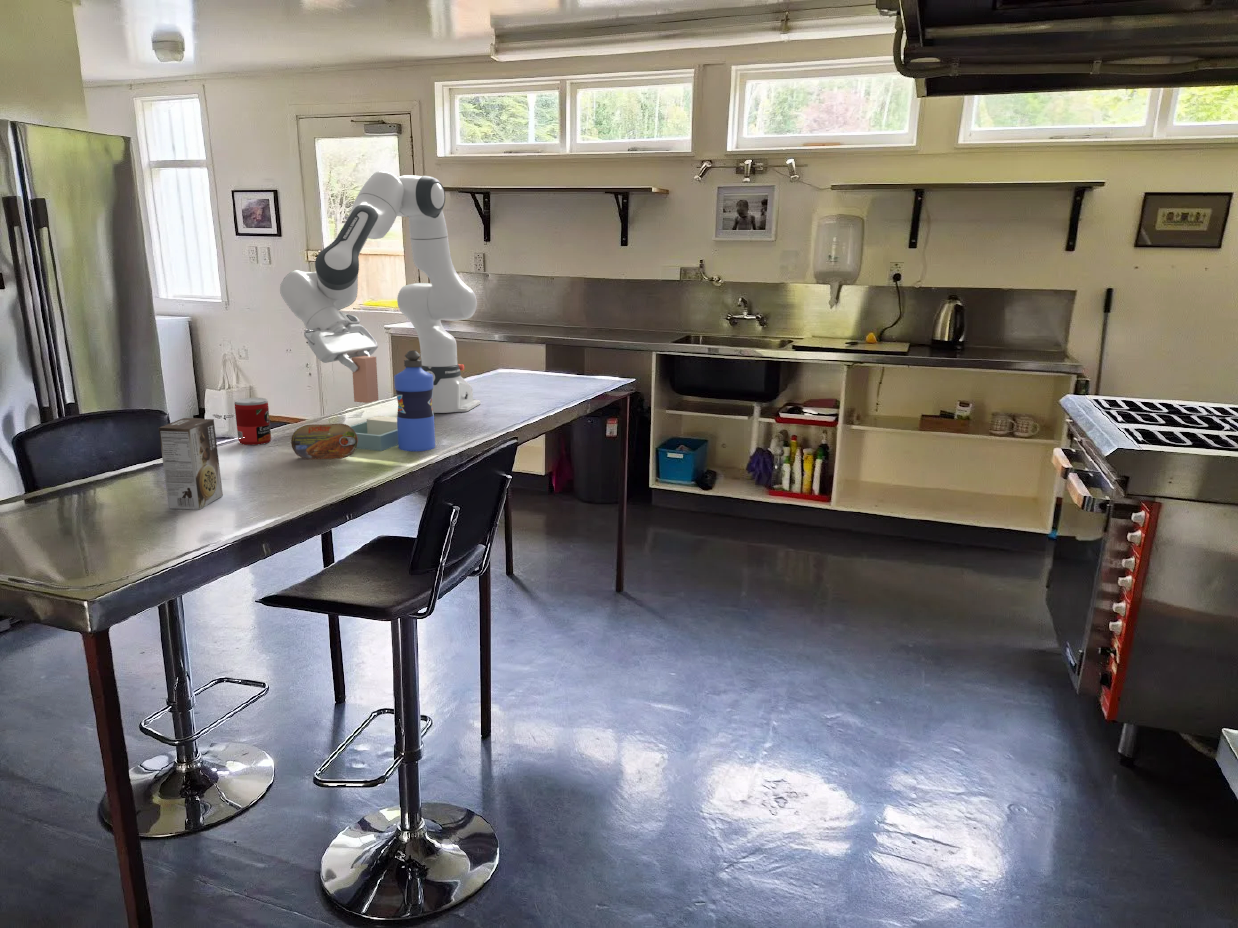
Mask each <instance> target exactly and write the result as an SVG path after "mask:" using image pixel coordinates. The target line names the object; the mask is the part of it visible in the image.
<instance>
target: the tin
mask: <svg viewBox="0 0 1238 928" xmlns="http://www.w3.org/2000/svg"><path fill="white" fill-rule="evenodd" d="M350 426H351V425H348V424H345V423H321V424H320V423H319V424H317V423H316V424H315V423H314V424H305V425H302V426H300V427H299V428H297V429H296V430H295V431H294V432H293V433H292V436H291V438H290V439H291V441H290V443H291V448H292V450H293V452H294V454H296V455H297V456H298V457H300V458H301V459H304V460H309V461H311V460H312V461H313V460H314V461H315V460H335V459H337V460H338V459H345V458H349V456H351V455H353V454H354V452H355V451H356V449H357V448H356V447H357V443H358V438H357V434H356V432H355V431H354V430H353V429H352V428H351V427H350Z"/></svg>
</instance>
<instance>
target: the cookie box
mask: <svg viewBox="0 0 1238 928" xmlns="http://www.w3.org/2000/svg"><path fill="white" fill-rule="evenodd" d="M215 428H216V427H215V420H214V419H213V418H209V419H208V418H198V417H183V418H181V419H178V420H175V421H172V422H170V423H167V424H165V425H163V426H162V425H161V426H160V427H158V428H157V429H158V435H159V441H160V450H161V456H162V464H163V471H164V472H163V473H164V474H163V475H164V481H165V482H164V483H165V488H166V495H167V504H168V508H169V509H172V510H174V509H175V510H176V509H177V510H201V509H203V508H205V507H206V506H208V505H210V504H211V503H213V502H214V501H216V500H218V499H219V498H221V497H223V495H224V494H223V485H222V476H221V469H220V460H219V451H218V443H217V435H216V429H215Z"/></svg>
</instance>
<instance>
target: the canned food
mask: <svg viewBox="0 0 1238 928" xmlns="http://www.w3.org/2000/svg"><path fill="white" fill-rule="evenodd" d="M233 405H234V413H235V422H236V429H237V430H236V431H237V440H238V442H240V443H239V444H241V445H243V444H244V445H243V446H258V444H260V445H265V444H264V443H266V444H268V443H270V442H271V440H272V434H271V433H272V431H271V421H270V410H269V409H270V407H269V400H268V398H263V397H243V398H238V399H236V400H234V404H233ZM243 437H245V438H243ZM239 438H241V439H239Z"/></svg>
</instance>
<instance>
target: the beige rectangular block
mask: <svg viewBox="0 0 1238 928" xmlns="http://www.w3.org/2000/svg"><path fill="white" fill-rule="evenodd" d="M366 421H367V432H368V434H374V435H381V434H384V433H387V432H390V431H393V430H396V429H397V417H396V416H395V417H394V416H385V415H376V416H374V417H370V418H367V419H366Z"/></svg>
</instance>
